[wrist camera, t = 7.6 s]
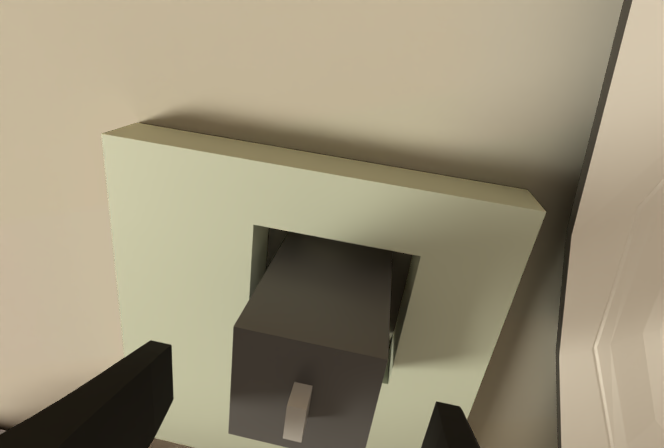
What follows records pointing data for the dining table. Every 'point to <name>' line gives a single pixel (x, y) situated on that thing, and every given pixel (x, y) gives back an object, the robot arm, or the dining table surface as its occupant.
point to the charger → (312, 346)
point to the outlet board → (316, 220)
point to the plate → (618, 254)
